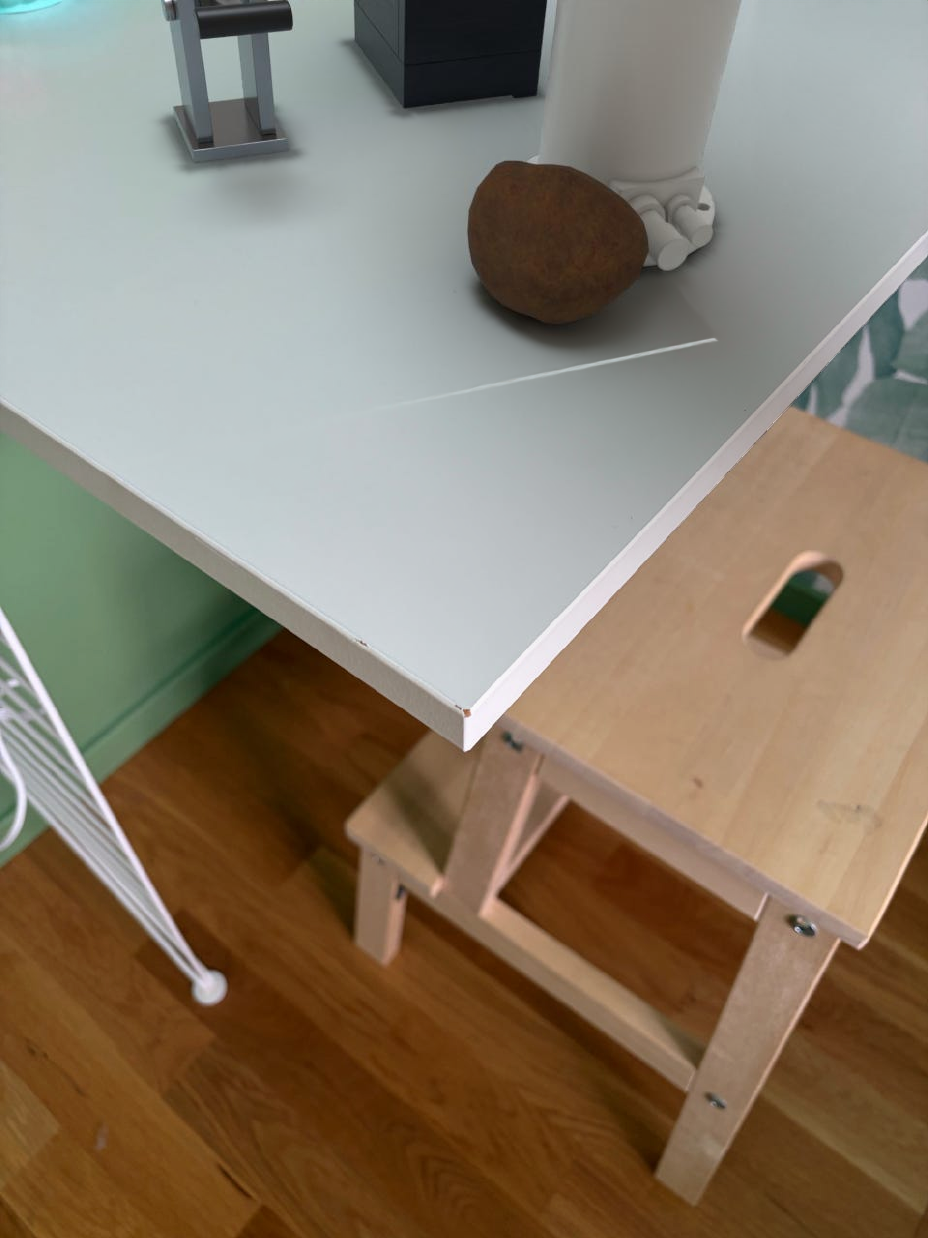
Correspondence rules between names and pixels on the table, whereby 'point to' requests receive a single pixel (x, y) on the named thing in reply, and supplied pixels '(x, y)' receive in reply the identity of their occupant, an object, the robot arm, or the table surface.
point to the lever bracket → (229, 121)
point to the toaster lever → (240, 18)
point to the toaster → (452, 47)
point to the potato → (553, 241)
